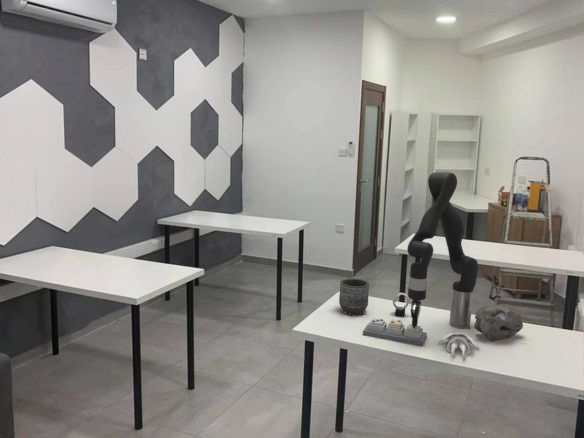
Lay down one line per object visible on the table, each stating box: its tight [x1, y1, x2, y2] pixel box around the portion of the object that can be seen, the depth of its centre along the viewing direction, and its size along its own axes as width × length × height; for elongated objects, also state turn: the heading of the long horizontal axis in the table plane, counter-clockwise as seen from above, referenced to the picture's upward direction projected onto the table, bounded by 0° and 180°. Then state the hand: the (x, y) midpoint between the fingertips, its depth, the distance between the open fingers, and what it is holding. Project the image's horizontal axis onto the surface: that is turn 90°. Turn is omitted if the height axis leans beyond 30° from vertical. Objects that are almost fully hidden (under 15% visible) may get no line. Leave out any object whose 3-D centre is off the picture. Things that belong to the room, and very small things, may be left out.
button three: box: [370, 317, 385, 326], centre depth 229 cm, size 5×5×4 cm
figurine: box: [436, 332, 481, 361], centre depth 215 cm, size 17×9×25 cm
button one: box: [407, 324, 422, 333], centre depth 223 cm, size 5×5×4 cm
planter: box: [338, 277, 370, 316], centre depth 254 cm, size 14×14×15 cm
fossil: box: [473, 304, 524, 342], centre depth 229 cm, size 14×22×15 cm, turn 123°
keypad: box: [362, 318, 428, 347], centre depth 226 cm, size 26×11×4 cm, turn 68°
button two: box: [388, 318, 403, 330], centre depth 226 cm, size 5×5×4 cm
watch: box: [392, 292, 410, 318], centre depth 252 cm, size 6×8×11 cm
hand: (414, 325), depth 223 cm, fingers closed
